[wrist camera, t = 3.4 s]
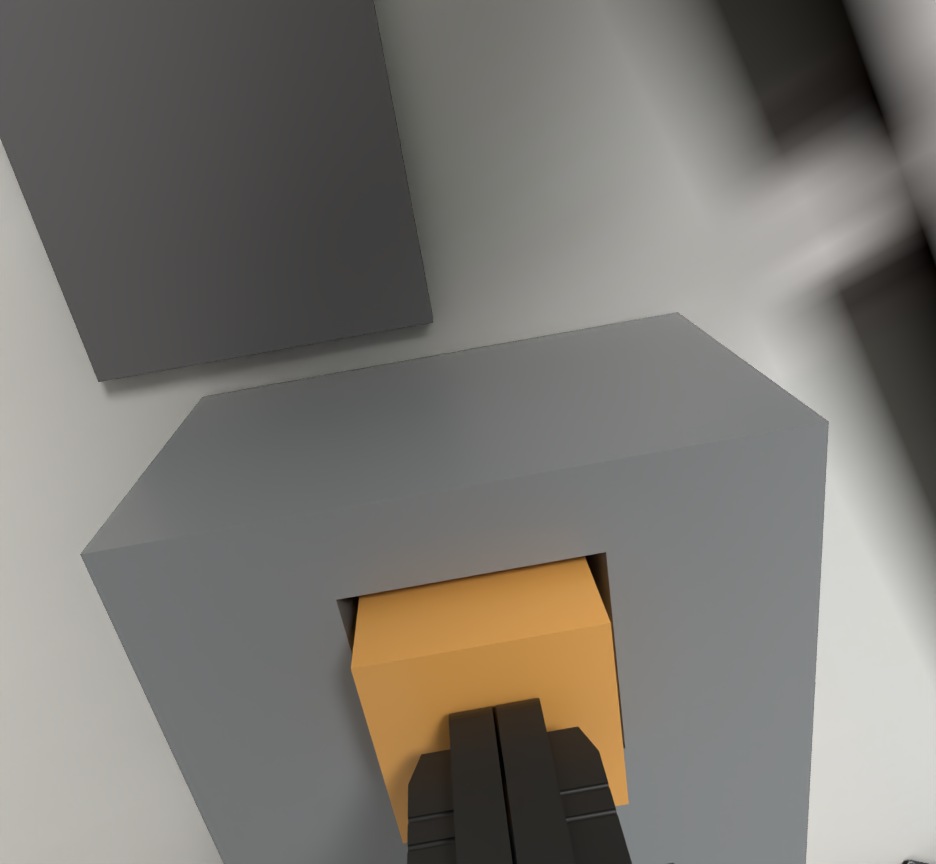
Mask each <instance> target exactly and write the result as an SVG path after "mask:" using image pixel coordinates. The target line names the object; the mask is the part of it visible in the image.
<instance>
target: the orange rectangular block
mask: <svg viewBox="0 0 936 864" xmlns="http://www.w3.org/2000/svg"><path fill="white" fill-rule="evenodd" d="M351 671H352V675H353V678H354V681H355V685H356V688H357V691H358V695H359V698H360V701H361V705H362V708H363V711H364V715H365V718H366V721H367V725H368V728H369V731H370V735H371V738H372V741H373V745H374V748H375V751H376V755H377V758H378V761H379V765H380V768H381V771H382V775H383V778H384V781H385V785H386V788H387V791H388V795H389V798H390V801H391V805H392V808H393V811H394V815H395V818H396V821H397V825H398V828H399V831H400V835H401V838H402V841H403V844H404V843H407V832H408V784H409V781H410V779H411V777H412V775H413V772H414V770H415V768H416V765H417V763H418V761H419V758H420V756H421V754H426V753H432V752H438V751H443V750H449V749H450V736H449V714H450V713H456V712H462V711H467V710H473V709H479V708H484V707H490V706H493V710H494V715H495V721H496V726H497V731H498V736H499V741H500V746H501V739H500V732H499V724H498V717H497V710H496V705H500V704H506V703H511V702H517V701H523V700H528V699H534V698H539V699H540V703H541V707H542V712H543V716H544V721H545V726H546V730H547V732H549V731H555V730H560V729H566V728H572V727H577V726H578V727H579V728H580V729H581V730H582V731H583V733H584V734H585V735H586V736H587V737H588V738H589V740H590V741H591V742H592V743H593V744H594V746H595V747H596V748H597V749H598V750H599V753H600V756H601V759H602V763H603V766H604V770H605V773H606V776H607V780H608V784H609V788H610V790H611V793H612V797H613V800H614V804H615V806H620V805H626V804H629V800H628V790H627V780H626V770H625V760H624V750H623V740H622V730H621V720H620V710H619V700H618V690H617V680H616V670H615V660H614V650H613V640H612V630H611V622H610V620H609V617H608V614H607V612H606V609H605V607H604V604H603V602H602V599H601V597H600V594H599V591H598V589H597V586H596V584H595V581H594V579H593V576H592V573H591V571H590V568H589V566H588V563H587V561H586V558H585V556H581V557H575V558H570V559H564V560H559V561H553V562H547V563H542V564H536V565H530V566H525V567H519V568H513V569H508V570H502V571H496V572H491V573H485V574H479V575H474V576H468V577H462V578H457V579H451V580H445V581H440V582H434V583H429V584H423V585H417V586H412V587H406V588H400V589H395V590H389V591H383V592H378V593H372V594H366V595H361V596H359V604H358V612H357V620H356V629H355V637H354V646H353V654H352V663H351ZM501 751H502V746H501ZM502 756H503V753H502ZM503 761H504V760H503Z"/></svg>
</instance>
